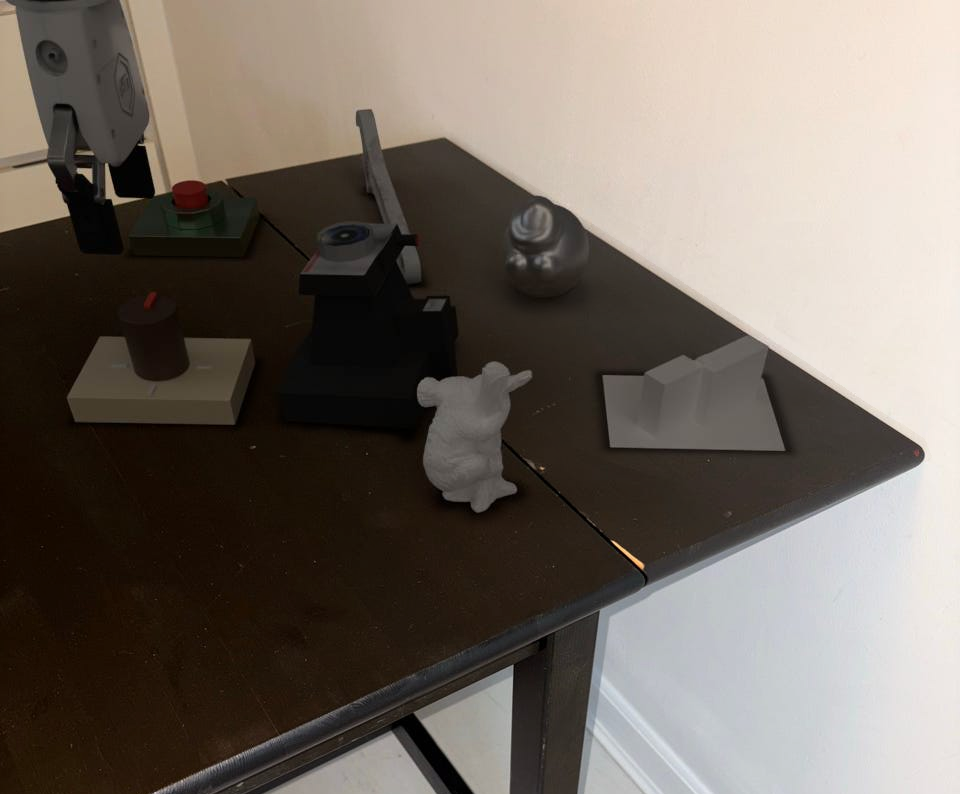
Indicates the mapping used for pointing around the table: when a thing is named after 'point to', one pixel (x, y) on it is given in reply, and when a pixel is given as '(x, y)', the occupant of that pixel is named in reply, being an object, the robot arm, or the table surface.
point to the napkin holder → (696, 403)
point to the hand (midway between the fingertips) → (120, 223)
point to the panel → (164, 385)
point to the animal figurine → (469, 434)
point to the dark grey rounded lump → (544, 248)
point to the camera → (366, 333)
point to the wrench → (385, 191)
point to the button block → (195, 227)
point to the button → (190, 194)
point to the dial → (154, 337)
